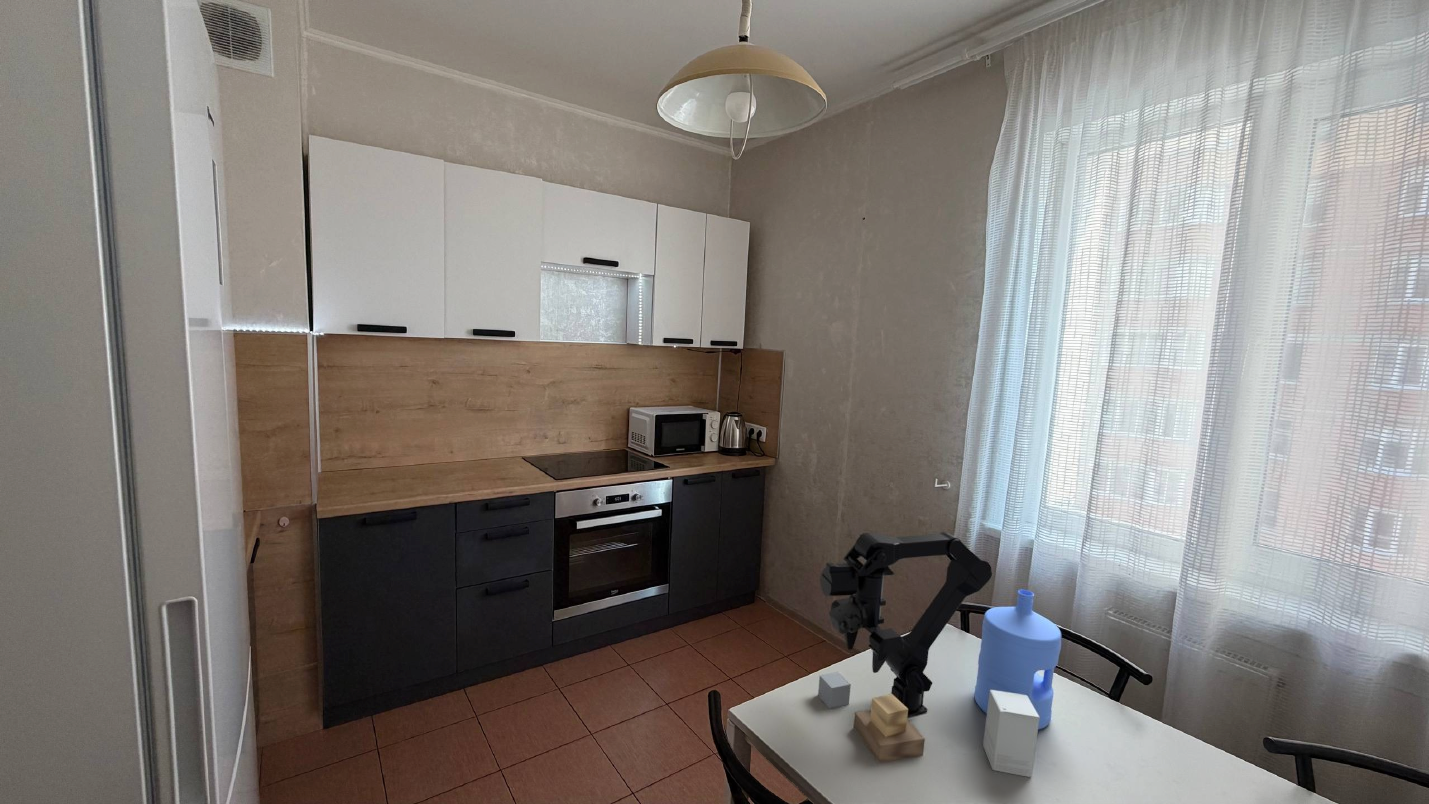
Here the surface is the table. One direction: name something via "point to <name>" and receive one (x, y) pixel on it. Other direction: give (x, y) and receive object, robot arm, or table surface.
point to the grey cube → (834, 690)
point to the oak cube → (889, 715)
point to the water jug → (1018, 655)
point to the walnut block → (888, 739)
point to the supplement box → (1011, 733)
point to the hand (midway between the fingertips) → (862, 660)
